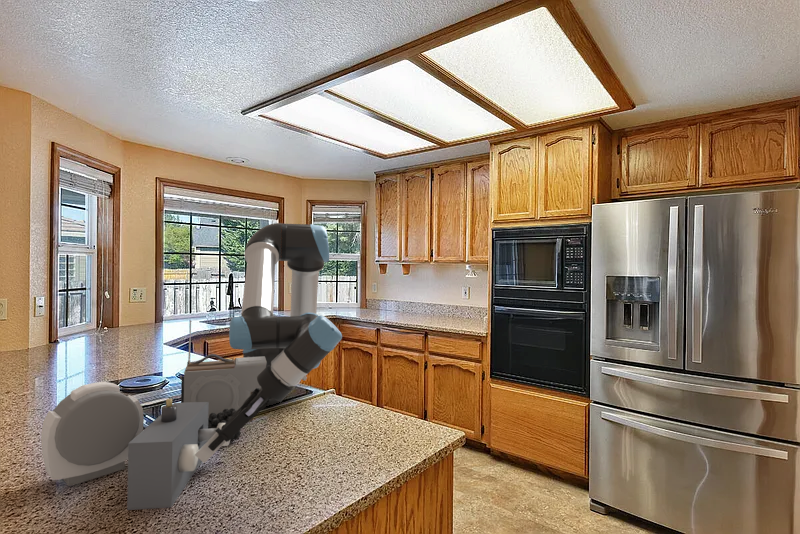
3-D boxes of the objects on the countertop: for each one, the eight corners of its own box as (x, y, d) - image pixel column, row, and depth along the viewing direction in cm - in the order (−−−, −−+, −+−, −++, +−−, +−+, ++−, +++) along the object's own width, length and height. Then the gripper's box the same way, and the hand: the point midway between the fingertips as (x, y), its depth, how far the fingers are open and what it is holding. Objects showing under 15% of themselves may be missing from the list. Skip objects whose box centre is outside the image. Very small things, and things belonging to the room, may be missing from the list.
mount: (173, 454, 106) (174, 402, 106) (207, 453, 107) (208, 401, 107) (127, 510, 82) (128, 443, 82) (171, 507, 84) (172, 441, 83)
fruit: (182, 412, 110) (243, 407, 114) (189, 412, 118) (246, 407, 122) (180, 448, 108) (243, 441, 112) (187, 445, 115) (245, 439, 119)
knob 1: (162, 465, 91) (162, 441, 91) (198, 463, 92) (198, 440, 92) (151, 477, 86) (152, 452, 86) (190, 475, 87) (190, 450, 87)
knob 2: (199, 441, 104) (199, 420, 104) (231, 440, 105) (231, 419, 105) (192, 450, 99) (192, 428, 99) (225, 449, 100) (226, 427, 100)
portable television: (265, 421, 130) (267, 323, 129) (178, 431, 121) (180, 325, 121) (263, 408, 141) (264, 318, 140) (182, 416, 132) (184, 320, 132)
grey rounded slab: (132, 454, 106) (133, 373, 106) (145, 465, 100) (146, 380, 100) (38, 482, 92) (40, 389, 92) (48, 496, 86) (50, 397, 86)
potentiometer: (164, 417, 96) (164, 397, 96) (178, 417, 96) (178, 397, 96) (158, 422, 93) (159, 401, 93) (173, 422, 93) (173, 401, 93)
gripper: (291, 396, 86) (204, 484, 84) (296, 379, 99) (221, 455, 97) (264, 371, 86) (176, 460, 83) (273, 357, 98) (197, 433, 96)
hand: (200, 457), depth 90 cm, fingers closed
